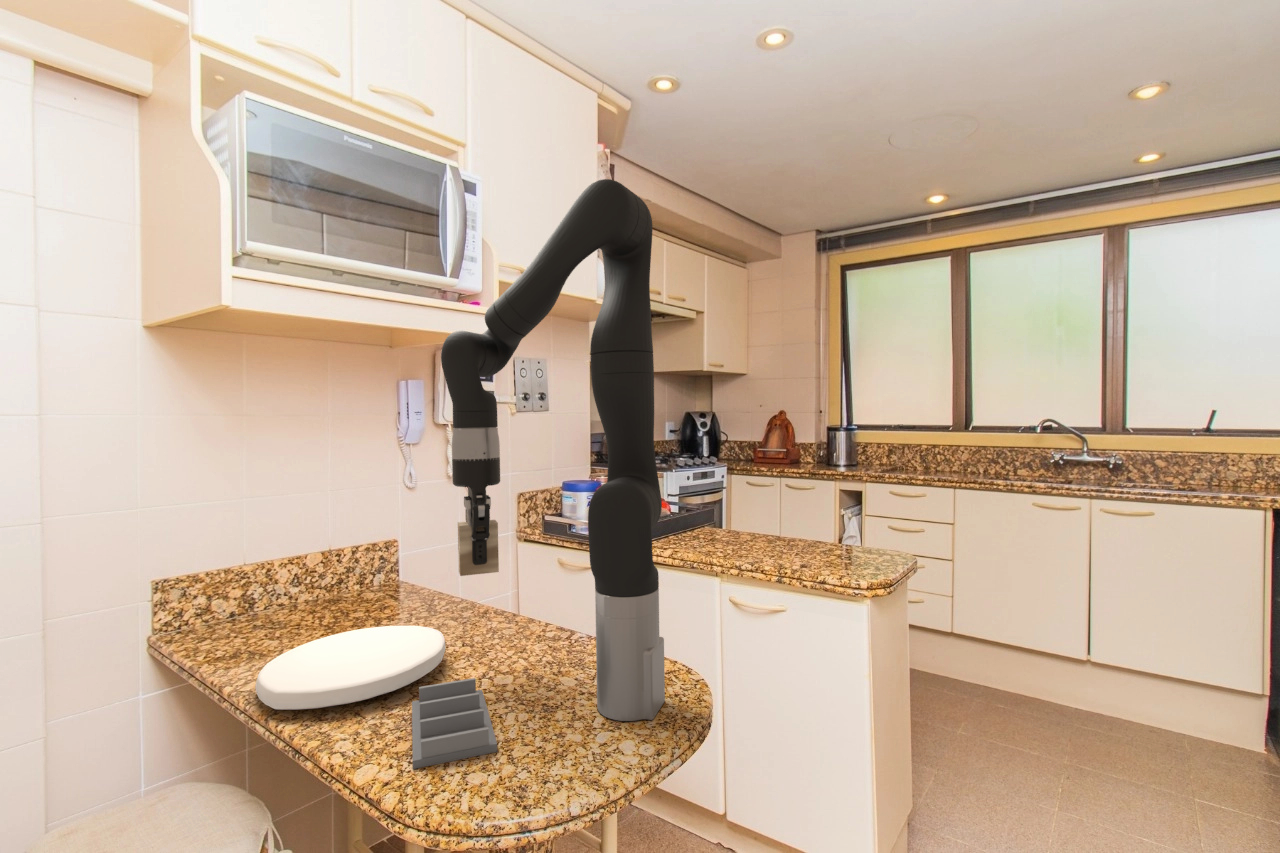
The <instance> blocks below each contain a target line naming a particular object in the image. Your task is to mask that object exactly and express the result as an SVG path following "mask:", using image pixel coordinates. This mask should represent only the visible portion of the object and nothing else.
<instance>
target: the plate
mask: <svg viewBox="0 0 1280 853" xmlns="http://www.w3.org/2000/svg"><path fill="white" fill-rule="evenodd" d="M445 653H446V639H445V636H444V635H443V632H441V631H440V630H438V629H436V628H432V627H427V626H422V625H421V626H420V625H387V626H386V625H384V626H383V625H382V626H375V627H373V626H372V627H367V628H366V627H365V628H360V629H354V630H347V631H343V632H339V633H335V634H331V635H328V636H324V637H321V638H317V639H314V640H312V641H308V642H306V643H304V644H301V645H298V646H296V647H294V648H292V649H290V650H288V651H286V652H283V653H282V654H279V655H278V656H277V657H274V658H273V659H272V660H270V661H269V662H267V663H266V664H265V665H264V666H263V667H262V669H261V670H260V671H259V672H258V675H257V678H256V681H255V693H256V695H257V698H258V699H259V700H260V701H261V702H262V703H263V704H264V705H266V706H267V707H270V708H272V709H274V710H276V711H278V710H282V711H283V710H291V711H292V710H293V711H294V710H310V709H320V708H327V707H333V706H339V705H340V706H341V705H346V704H351V703H356V702H361V701H364V700H368V699H373V698H374V697H377V696H381V695H385V694H389V693H390V692H394V691H396V690H399V689H401V688H403V687H406V686H408V685H410V684H411V683H414V682H415V681H417V680H419V679H421V678H422V677H424V676H426V675H427V674H429V673H430V672H432V671H434V669H436V667H437V666H439V665H440V663H442V660H443V659H444V655H445Z"/></svg>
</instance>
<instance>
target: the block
mask: <svg viewBox="0 0 1280 853" xmlns="http://www.w3.org/2000/svg"><path fill="white" fill-rule="evenodd" d="M476 531H484V527H483V526H479V527H477V528H476ZM489 533H490V536H489V538H488V540H486V541H487V563H486V564H481V565H474V564H473V561H472V540H471V527H469V526H468V522H466V521H459V522H458V521H457V550H458V551H457V552H458V553H457V554H458V555H457V556H458V557H457V558H458V573H459V576H460V577H465V576H473V575H482V574H483V575H484V574H492V573H493V574H495V573H500V572H499V571H500V566H499V564H500V562H499V522H498V521H497V520H496V519H490V524H489Z"/></svg>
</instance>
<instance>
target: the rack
mask: <svg viewBox="0 0 1280 853" xmlns="http://www.w3.org/2000/svg"><path fill="white" fill-rule="evenodd" d="M476 681H477V680H476V677H472V678H465V679H461V680H460V679H459V680H453V681H448V682H442V683H437V684H436V683H435V684H429V685H422V686H418V697H419V698H418V700H413V701H411V718H412V719H411V721H412V722H411V726H412V728H411V729H412V730H411V731H412V734H411V735H412V737H411V738H412V740H411V742H412V770H415V769H420V768H426V767H430V766H435V765H439V764H444V763H449V762H455V761H459V760H463V759H469V758H474V757H477V756H483V755H487V754H488V755H489V754H493V753H497V752H498V743H497V738H496V734H495V731H494V728H493V724H492V720H491V716H490V713H489V710H488V706H487V702H486V699H485V695H484V690H483V689H478V690H476V689H477V685H476V684H477V682H476Z"/></svg>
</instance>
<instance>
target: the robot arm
mask: <svg viewBox="0 0 1280 853" xmlns="http://www.w3.org/2000/svg"><path fill="white" fill-rule="evenodd" d="M652 245H653V217H652V214H651V211H650V209H649V207H648V205H647V204H646V203H645V201H644V200H643V199H642V198H641V197H640V196H638V195H637V194H636V193H634V192H633V191H632V190H630V189H629V188H628V187H626V186H625V185H624V184H623V183H621V182H619V181H617V180H614V179H608V178H604V179H599V180H596V181H595V182H592V183H591V184H590V185H588V186H587V187H586V188H585V189H584V190H583V191H582V192H581V193H580V195H579V196H578V197H577V198H576V199H575V201H573V204H571V207H570V208H569V209H568V210H567V212H566V214H565V215H564V216H563V218H562V219H561V221H560V222H559V224H558V225H557V226H556V228H555V229H554V231H553V232H552V234H551V235H550V236H549V237H548V238H547V240H546V242H545V244H544V245H543V246H542V248H541V249H540V250H539V252H538V253H537V255H536V256H535V257H534V258H533V260H532V261H531V263H530V264H529V265H528V266H527V267H526V269H525V270H524V271H523V272H522V273H521V274H520V275H519V276H518V277H517V278H516V280H514V282H513V283H512V284H511V285H509V287H508V288H506V290H505V291H504V292H503V293H502V294H501V295H500V296H499V297H498V298H497V299H496V300H494V302H493V303H492V304H490V306H489V307H488V308H487V310H486V311H485V314H484V321H485V325H486V328H487V329H486V330H485V331H484V332H483V333H478V332H477V333H476V332H472V331H465V330H458V331H457V330H456V331H453V332H452V333H450V334H449V335H448V336H447V337H446V338H445V340H444V342H443V344H442V347H441V353H440V362H441V368H442V371H443V375H444V376H443V377H444V379H445V382H446V386H447V390H448V394H449V396H450V400H451V402H452V428H453V429H452V438H451V466H452V469H451V471H452V472H451V473H452V474H451V476H452V484H453V485H454V486H455V487H459V488H467V489H468V490H467V495H466V496H463V506H464V508H465V509H464V510H465V514H464V515H465V522H468V526H469V527H471V540H472V561H473V564H474V565H481V564H486V563H487V541H486V540H488V538H489V536H490V533H489V524H490V520H491V512H490V511H491V506H492V499H491V496H489V494H487V487H489V486H496V485H499V484H500V483H501V454H500V451H501V450H500V445H501V443H500V436H499V430H498V403H497V398H496V395H495V394H494V393H491V392H489V391H487V390H486V389H484V386H483V383H482V379H481V378H489V377H492V376H495V375H496V374H498V373H499V372H501V371H502V370H503V369H504V368H505V367H506V366H507V364H508V363H509V361H510V360H511V358H512V357H513V355H514V353H515V351H516V350H517V349H518V347H519V344H520V343H521V341H522V340H523V339H524V338H525V337H527V336H528V335H529V333H530V332H532V331H533V330H534V329H535V328H536V327H537V326H538V325H539V324H540V323H541V322H542V321H543V320H544V319H545V318H546V317H547V316H548V315H549V313H550V312H551V311H552V309H553V308H554V306H555V304H556V303H557V301H558V299H559V296H560V294H561V292H562V289H563V287H564V286H565V284H566V282H567V281H568V278H569V277H570V276H571V274H572V272H573V271H574V270H575V269H576V268H577V267H578V266H579V265H580V263H582V262H583V261H584V260H585V259H586V258H588V257H589V256H591V254H593V253H594V252H596V251H598V250H599V249H600V250H601V254H602V255H601V256H602V260H603V262H602V263H603V271H604V272H603V273H604V276H603V277H604V292H603V293H604V295H603V299H602V303H601V306H600V310H599V312H598V314H597V317H596V321H595V322H594V323H595V324H594V327H593V331H592V334H591V339H590V347H589V351H590V353H589V354H590V375H591V376H590V377H591V378H590V379H591V388H592V394H593V395H592V396H593V399H594V403H595V405H596V410H597V412H598V416H599V420H600V422H601V426H602V428H603V432H604V436H605V440H606V446H607V477H606V478H607V481H606V482H604V484H602V485H600V487H598V488H597V489H596V490H595V492H594V493H593V494H592V496H591V499H590V501H589V505H588V512H587V523H588V524H587V528H588V529H587V530H588V531H587V533H588V550H589V551H588V552H589V563H590V564H589V565H590V569H591V573H592V575H593V578H594V588H595V589H594V592H595V594H594V595H595V597H594V598H595V649H596V650H595V653H596V654H595V657H596V662H595V663H596V705H597V706H596V708H597V711H598V712H599V714H600V715H602V716H603V717H604V718H607V719H611V720H614V721H621V722H633V721H634V722H636V721H640V720H650V721H651V720H654V718H655V717H656V715H657V714H658V712H659V711H660V709H661V708H662V706H663V704H665V702H666V696H665V695H666V691H665V690H666V689H665V688H666V687H665V686H666V684H665V678H666V677H665V638H664V636H660V594H659V593H660V591H659V590H660V589H659V586H660V585H659V584H660V582H659V577H660V576H659V571H658V568H657V567H656V566H655V563H654V559H653V558H654V555H653V536H652V535H653V534H652V533H653V531H652V530H653V529H655V527H656V526H657V524H658V522H659V521H660V518H661V515H662V511H663V510H662V508H663V504H662V503H663V502H662V492H661V486H660V480H659V474H658V466H657V459H656V451H655V450H656V449H655V440H654V438H655V436H654V435H655V432H654V431H655V370H654V368H655V366H654V363H655V362H654V344H653V329H652V311H651V310H652V309H651V308H652V307H651V291H650V285H651V284H650V279H651V278H650V277H651V263H652V262H651V260H652ZM479 526H483V527H484V531H476V528H477V527H479Z"/></svg>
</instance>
